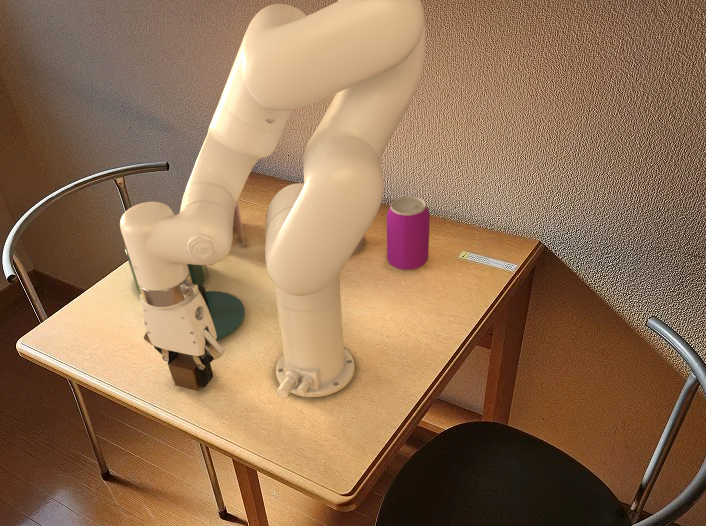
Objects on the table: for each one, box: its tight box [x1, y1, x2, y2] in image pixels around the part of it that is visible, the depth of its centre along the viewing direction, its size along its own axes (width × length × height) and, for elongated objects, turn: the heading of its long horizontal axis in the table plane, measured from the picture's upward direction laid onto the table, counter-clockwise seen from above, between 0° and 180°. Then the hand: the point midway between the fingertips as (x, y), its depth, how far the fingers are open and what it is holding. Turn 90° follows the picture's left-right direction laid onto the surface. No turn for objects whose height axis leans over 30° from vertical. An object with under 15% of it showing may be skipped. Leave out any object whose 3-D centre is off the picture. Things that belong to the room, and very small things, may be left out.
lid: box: [198, 285, 246, 342], centre depth 129 cm, size 15×15×7 cm
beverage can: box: [386, 195, 431, 272], centre depth 134 cm, size 8×8×12 cm
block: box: [168, 353, 203, 392], centre depth 118 cm, size 4×4×4 cm
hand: (193, 377), depth 119 cm, fingers closed on block, 4 cm apart
